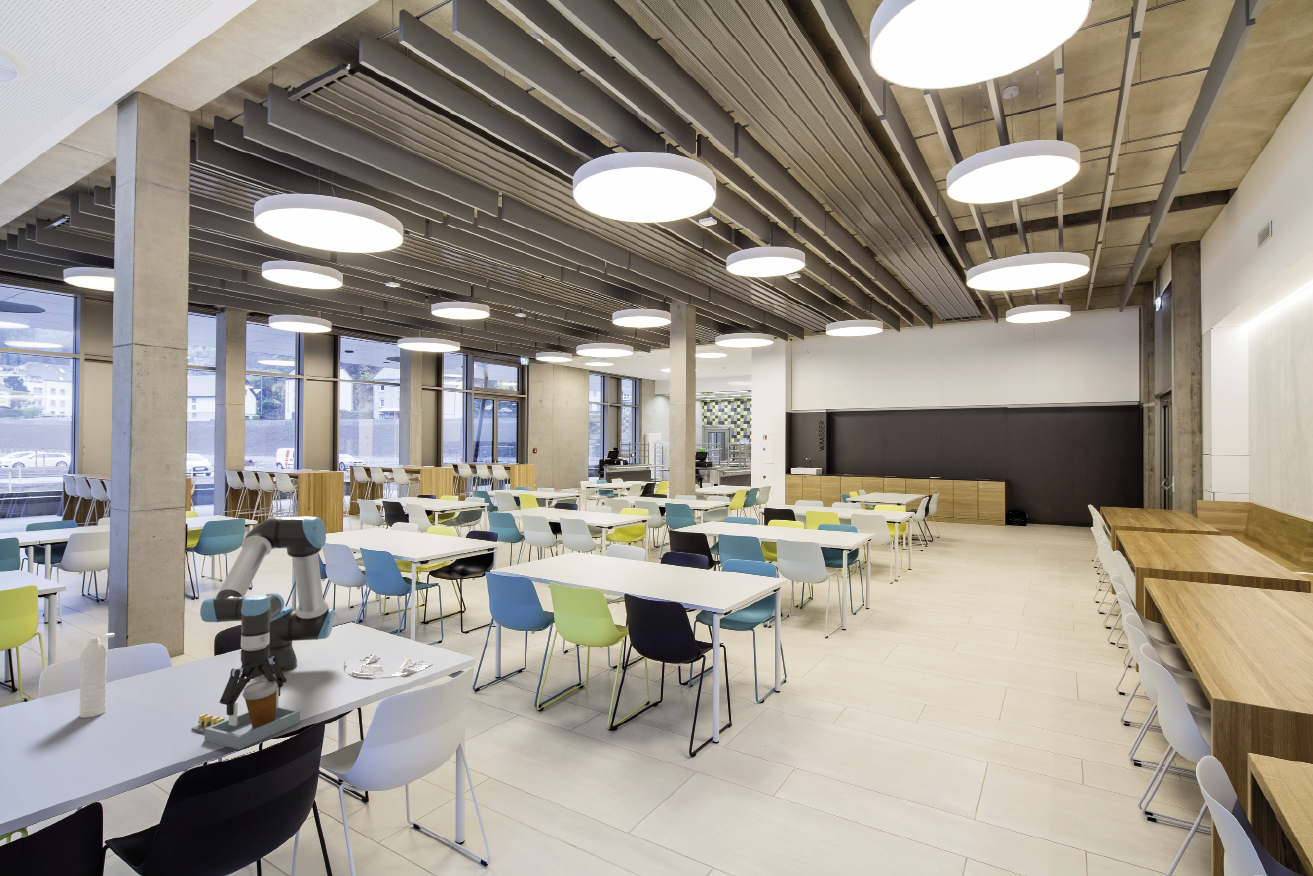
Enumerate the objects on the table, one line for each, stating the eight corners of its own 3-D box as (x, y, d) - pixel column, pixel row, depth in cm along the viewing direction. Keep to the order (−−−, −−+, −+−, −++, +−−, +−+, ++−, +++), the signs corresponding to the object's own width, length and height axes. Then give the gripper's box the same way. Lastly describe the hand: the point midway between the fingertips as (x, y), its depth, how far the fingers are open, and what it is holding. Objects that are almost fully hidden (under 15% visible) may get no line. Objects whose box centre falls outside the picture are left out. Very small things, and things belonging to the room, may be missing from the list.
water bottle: (85, 719, 204) (87, 641, 204) (75, 715, 207) (76, 638, 207) (118, 709, 212) (119, 634, 212) (107, 706, 215) (109, 631, 215)
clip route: (190, 730, 197) (190, 718, 197) (210, 722, 203) (210, 710, 203) (214, 736, 193) (214, 723, 193) (234, 728, 199) (234, 716, 199)
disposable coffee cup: (255, 734, 194) (251, 696, 192) (239, 725, 199) (235, 689, 197) (287, 719, 202) (283, 683, 200) (271, 711, 207) (268, 676, 205)
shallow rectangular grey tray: (204, 740, 190) (204, 728, 190) (266, 714, 209) (267, 703, 209) (239, 749, 185) (239, 737, 185) (300, 722, 204) (300, 710, 204)
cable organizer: (438, 663, 261) (438, 655, 261) (399, 684, 238) (399, 674, 238) (367, 654, 271) (367, 646, 271) (323, 674, 248) (323, 665, 248)
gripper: (223, 661, 184) (222, 735, 184) (299, 637, 208) (298, 703, 207) (206, 657, 187) (205, 730, 187) (283, 634, 210) (282, 699, 210)
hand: (254, 716), depth 197 cm, fingers open, 13 cm apart
